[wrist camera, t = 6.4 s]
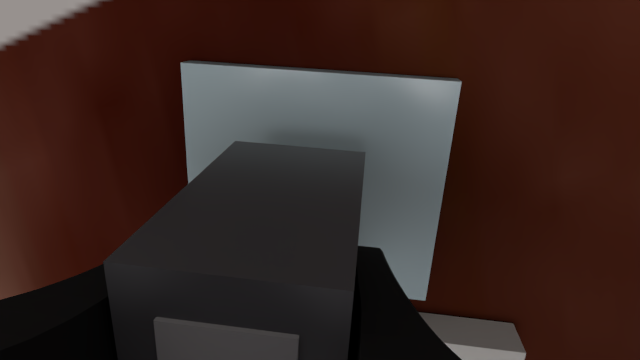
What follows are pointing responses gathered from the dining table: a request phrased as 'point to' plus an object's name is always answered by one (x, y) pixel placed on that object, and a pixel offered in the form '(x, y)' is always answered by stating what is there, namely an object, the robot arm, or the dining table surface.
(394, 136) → the tile
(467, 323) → the power strip
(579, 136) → the dining table surface
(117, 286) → the block
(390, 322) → the robot arm
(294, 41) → the dining table surface
